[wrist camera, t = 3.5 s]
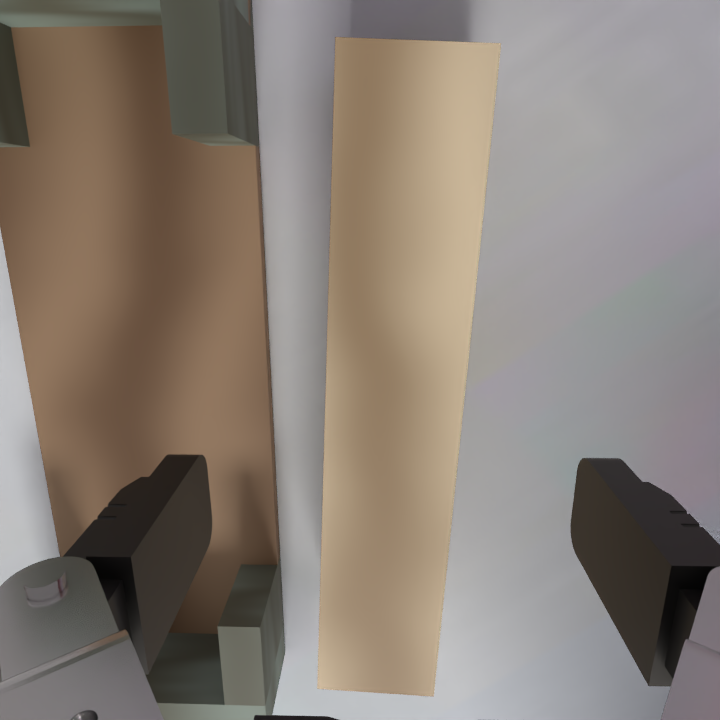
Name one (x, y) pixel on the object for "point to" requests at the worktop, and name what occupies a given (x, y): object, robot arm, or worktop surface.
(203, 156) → the holder
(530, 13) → the worktop surface
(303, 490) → the worktop surface
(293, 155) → the worktop surface
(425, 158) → the slat
